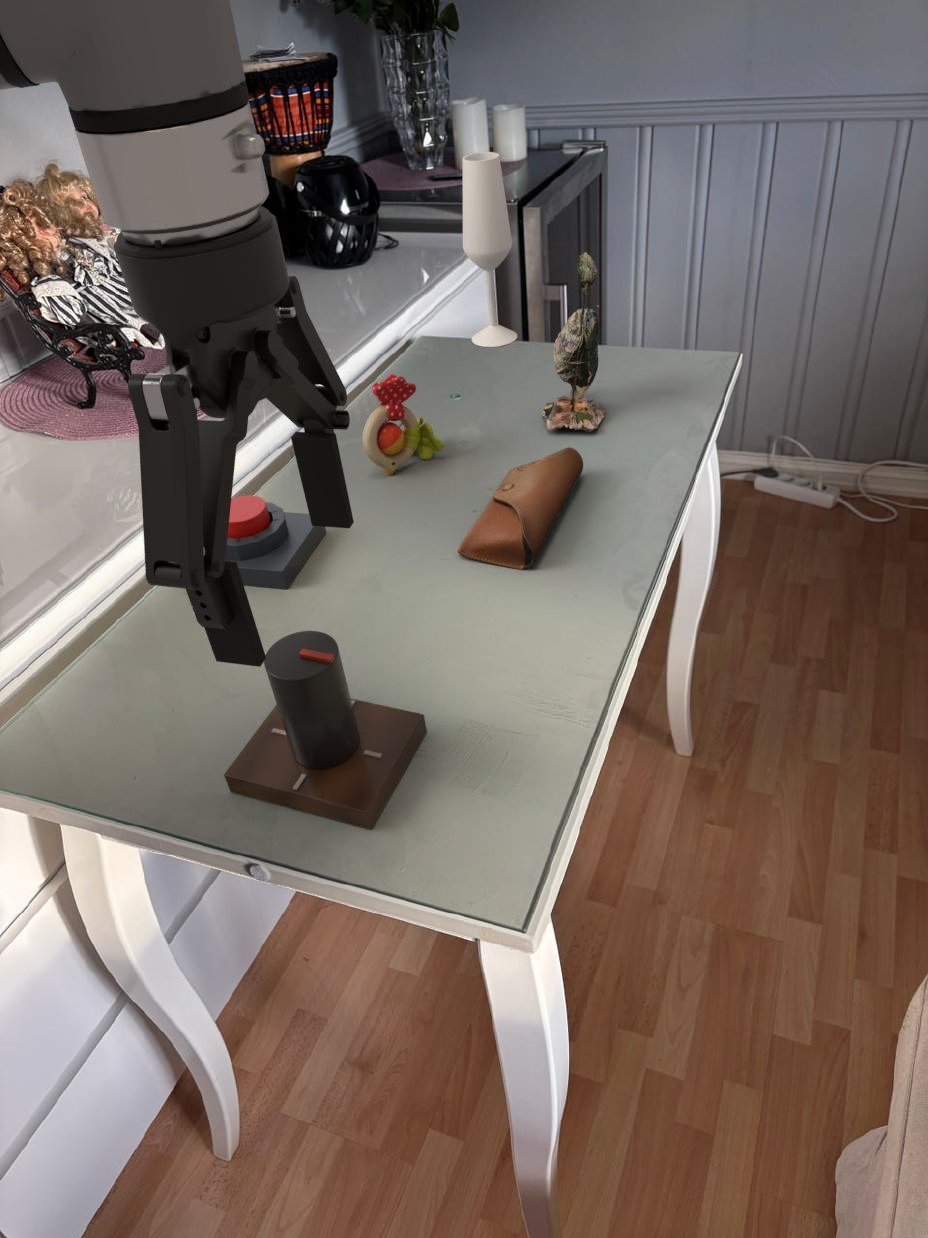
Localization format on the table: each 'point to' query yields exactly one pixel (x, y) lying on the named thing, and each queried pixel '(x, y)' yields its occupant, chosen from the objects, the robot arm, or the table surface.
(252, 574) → the button box
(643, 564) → the table surface
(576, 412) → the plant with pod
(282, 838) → the table surface
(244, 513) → the button
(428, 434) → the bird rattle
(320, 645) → the dial
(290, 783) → the knob panel
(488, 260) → the champagne flute
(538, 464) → the sunglasses case
